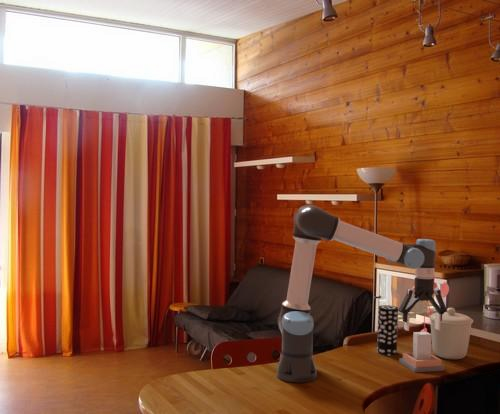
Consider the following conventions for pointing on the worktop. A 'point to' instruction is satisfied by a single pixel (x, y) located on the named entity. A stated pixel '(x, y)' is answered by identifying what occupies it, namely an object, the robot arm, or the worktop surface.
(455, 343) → the canister
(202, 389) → the worktop surface
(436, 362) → the pink square tray
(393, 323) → the white-spotted black cylinder
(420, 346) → the skincare box
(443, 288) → the pink flower
